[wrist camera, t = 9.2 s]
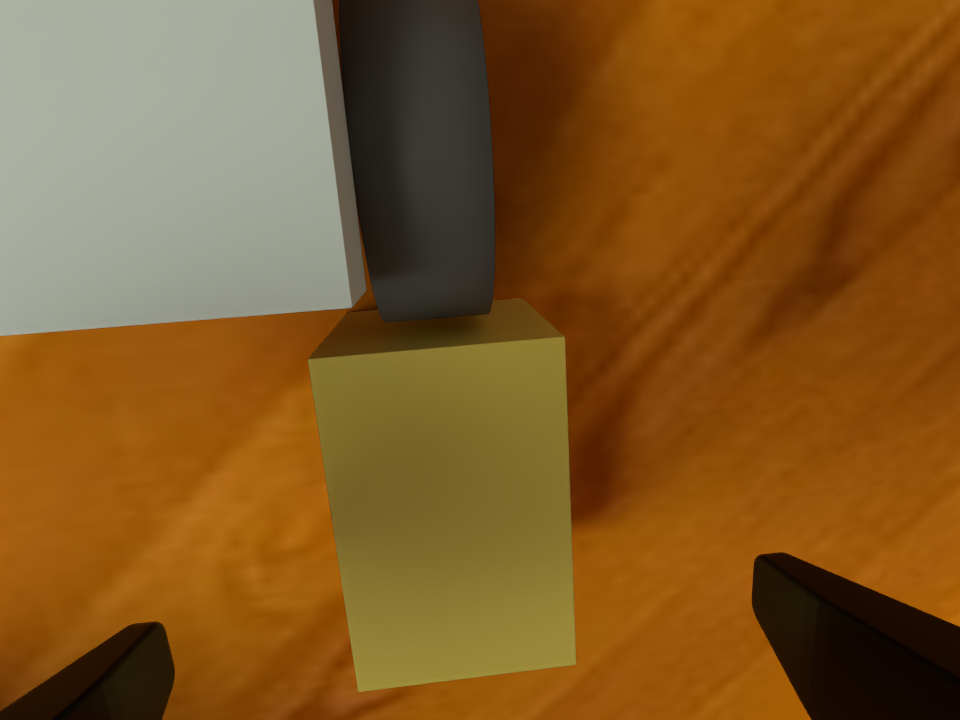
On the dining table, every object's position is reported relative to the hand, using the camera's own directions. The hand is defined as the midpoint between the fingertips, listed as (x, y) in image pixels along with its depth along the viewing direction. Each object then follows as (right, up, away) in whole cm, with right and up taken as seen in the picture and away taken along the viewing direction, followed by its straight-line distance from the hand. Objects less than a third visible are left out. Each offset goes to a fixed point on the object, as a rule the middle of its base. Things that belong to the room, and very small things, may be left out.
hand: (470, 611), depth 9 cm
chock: (-1, +2, +7) cm, 7 cm away
